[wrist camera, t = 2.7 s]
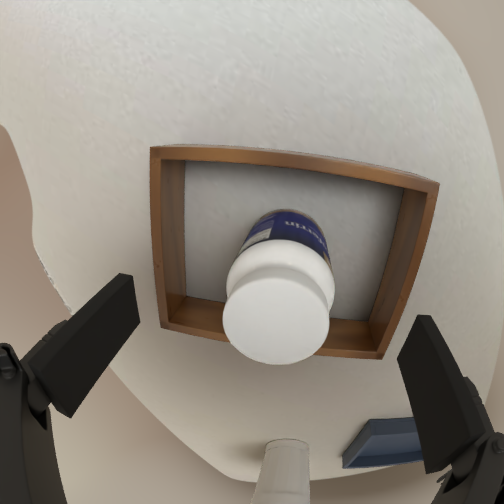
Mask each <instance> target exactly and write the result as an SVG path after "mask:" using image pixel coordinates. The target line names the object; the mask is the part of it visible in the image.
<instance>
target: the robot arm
mask: <svg viewBox="0 0 504 504" xmlns="http://www.w3.org/2000/svg"><path fill="white" fill-rule="evenodd" d="M139 323H140V318H139V312H138V307H137V301H136V295H135V288H134V281H133V276H132V275H127V274H122V273H119V274H118V275H117V276H116V277H115V278H113V279H112V280H111V281H110V282H109V283H108V284H107V285H106V286H104V287H103V288H102V289H101V290H100V291H99V292H98V293H97V294H96V295H95V296H94V297H92V298H91V299H90V300H89V301H88V302H87V303H86V304H85V305H84V306H83V307H82V308H81V309H80V310H79V311H78V312H76V313H75V314H74V315H73V316H72V317H71V318H70V319H69V320H68V321H67V320H64V321H62V322H60V323H58V324H57V325H55V326H54V327H53V328H52V329H51V330H50V331H49V332H48V334H46V335H45V336H44V337H43V338H42V340H40V341H39V342H38V343H37V344H36V345H35V346H34V347H33V348H32V349H31V350H30V351H29V352H28V353H27V354H26V355H25V356H24V357H23V358H22V359H21V360H20V361H19V359H18V357H17V355H16V353H15V352H14V350H13V348H12V346H11V345H10V344H7V343H0V504H67V501H66V497H65V494H64V490H63V486H62V482H61V478H60V473H59V468H58V464H57V458H56V453H55V447H54V440H53V433H52V424H51V414H50V409H49V407H48V405H49V404H50V403H52V404H53V405H54V407H55V408H56V410H57V411H59V412H60V413H62V414H64V415H65V416H67V417H69V418H72V416H73V415H74V413H75V412H76V410H77V409H78V407H79V405H80V404H81V403H82V401H83V400H84V398H85V397H86V396H87V394H88V393H89V391H90V390H91V389H92V387H93V386H94V384H95V383H96V381H97V380H98V379H99V377H100V376H101V374H102V373H103V372H104V370H105V369H106V368H107V366H108V365H109V363H110V362H111V361H112V359H113V358H114V357H115V355H116V354H117V353H118V351H119V350H120V349H121V347H122V346H123V345H124V343H125V342H126V341H127V339H128V338H129V337H130V335H131V334H132V333H133V331H134V330H135V329H136V327H137V326H138V325H139ZM397 361H398V364H399V368H400V371H401V374H402V377H403V380H404V384H405V387H406V390H407V394H408V397H409V401H410V405H411V408H412V412H413V416H414V420H415V424H416V428H417V432H418V437H419V441H420V446H421V450H422V455H423V460H424V465H425V471H426V474H429V473H434V472H438V471H441V470H443V469H444V468H445V467H447V466H448V465H449V464H451V466H452V469H451V470H450V471H448V472H447V473H446V474H444V475H443V476H441V477H440V478H439V479H438V480H437V483H438V482H440V481H442V480H443V479H444V478H445V479H444V481H443V483H441V487H440V489H439V491H438V493H437V494H436V496H435V498H434V500H433V501H432V503H431V504H504V434H502V433H499V432H496V433H495V432H494V430H493V427H492V424H491V422H490V419H489V417H488V414H487V412H486V409H485V407H484V405H483V404H482V400H481V398H480V396H479V393H478V391H477V389H476V387H475V385H474V384H473V383H472V382H471V380H470V379H469V378H468V377H463V375H462V373H461V371H460V369H459V367H458V365H457V363H456V361H455V359H454V357H453V355H452V353H451V351H450V349H449V348H448V346H447V344H446V342H445V340H444V338H443V336H442V335H441V333H440V331H439V329H438V328H437V326H436V324H435V322H434V321H433V319H432V317H431V315H417V317H416V319H415V321H414V324H413V326H412V328H411V330H410V332H409V335H408V337H407V339H406V341H405V343H404V345H403V347H402V349H401V351H400V353H399V355H398V357H397Z"/></svg>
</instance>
